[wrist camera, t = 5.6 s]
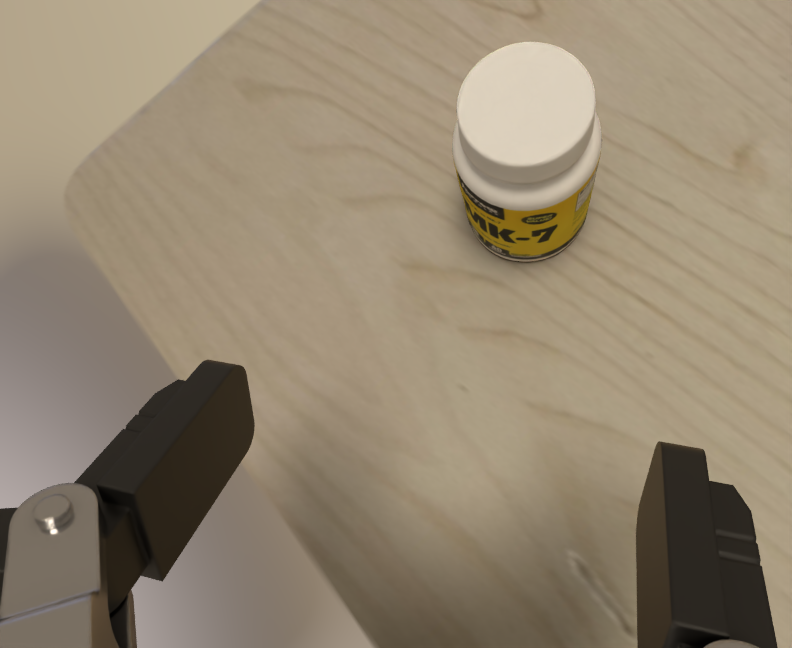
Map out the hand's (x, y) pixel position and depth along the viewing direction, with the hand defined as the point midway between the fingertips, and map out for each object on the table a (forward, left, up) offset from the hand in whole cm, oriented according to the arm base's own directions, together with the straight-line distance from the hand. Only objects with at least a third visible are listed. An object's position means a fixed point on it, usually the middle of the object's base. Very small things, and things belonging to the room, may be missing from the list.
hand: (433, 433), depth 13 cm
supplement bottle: (+5, -9, -13) cm, 17 cm away
